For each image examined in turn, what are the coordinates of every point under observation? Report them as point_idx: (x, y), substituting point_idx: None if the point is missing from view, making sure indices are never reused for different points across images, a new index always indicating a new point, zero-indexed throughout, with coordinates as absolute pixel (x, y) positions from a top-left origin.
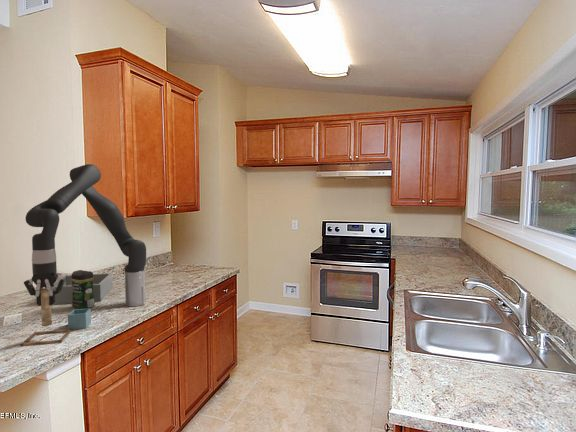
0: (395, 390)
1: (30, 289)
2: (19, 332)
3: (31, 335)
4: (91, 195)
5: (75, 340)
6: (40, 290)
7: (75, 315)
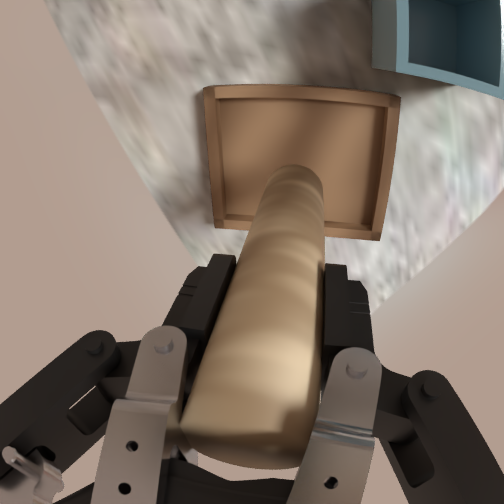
0: None
1: (93, 436)
2: (115, 34)
3: (209, 135)
4: None
5: (427, 204)
6: (195, 442)
7: (444, 81)
